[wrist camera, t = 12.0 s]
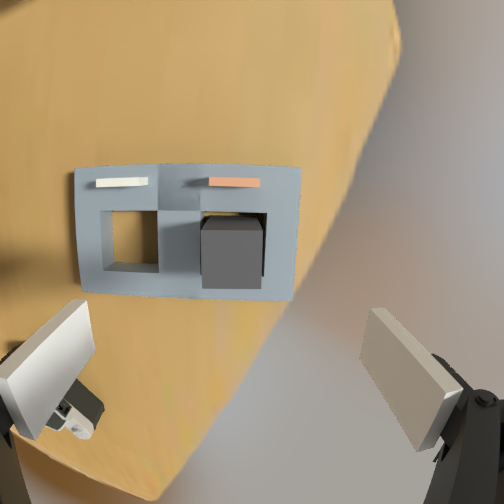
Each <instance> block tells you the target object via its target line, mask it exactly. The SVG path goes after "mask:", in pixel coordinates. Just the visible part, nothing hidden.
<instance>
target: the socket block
mask: <svg viewBox="0 0 504 504" xmlns="http://www.w3.org/2000/svg"><path fill="white" fill-rule="evenodd" d="M74 187H75V222H76V239H77V251H78V262H79V271H80V280H81V288H82V292H91V293H104V294H117V295H132V296H148V297H166V298H187V299H213V300H250V301H292V299H293V288H294V276H295V264H296V251H297V237H298V222H299V205H300V187H301V168H299V167H284V166H266V165H243V164H139V165H116V166H99V167H85V168H75V178H74ZM134 210H148V211H158V257H159V264H147V263H122V262H114V248H113V228H112V211H134ZM204 211H221V212H254V213H264V226H263V247H262V281H261V289H202V269H201V229H202V228H203V226H204Z"/></svg>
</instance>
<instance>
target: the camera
mask: <svg viewBox="0 0 504 504" xmlns="http://www.w3.org/2000/svg"><path fill="white" fill-rule="evenodd" d="M104 410H105V409H104V404H103V403H102V402H101V401H100V400H99V399H98V398H97V397H96V396H95V395H94V394H93V393H91V392H90V391H89V390H88V389H87V388H86V387H85V386H84V385H83V384H82V383H81V382H80V381H79V380H78V379H77V378H76V379H75V381H74V382H73V384H72V385H71V387H70V388H69V390H68V391H67V393H66V394H65V396H64V397H63V399H62V400H61V402H60V403H59V408H58V407H57V408H56V409H55V411H54V412H53V414H52V415H51V417H50V418H49V420H48V421H47V423H46V425H45V426H46V427H48V428H51V429H53V430H55V431H57V432H59V431H60V430H62V429H63V428H64V427H66V428H68V429H69V430H70V431H71V432H72V433H73V434H74V435H75V436H77V438H79V439H85V440H87V439H89V438H90V437H91V436H92V433H93V431H94V430H95V429H96V425H97V423H98V421H99V419H100V417H101V415H102V413H103V412H104Z"/></svg>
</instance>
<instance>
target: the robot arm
mask: <svg viewBox="0 0 504 504" xmlns="http://www.w3.org/2000/svg"><path fill="white" fill-rule="evenodd" d="M95 351H96V349H95V344H94V339H93V334H92V329H91V323H90V318H89V312H88V305H87V300H79V299H73V300H72V301H70V302H69V303H68V304H67V305H66V306H65V307H63V308H62V309H61V310H60V311H59V312H58V313H56V314H55V315H54V316H53V317H52V318H51V319H50V320H48V321H47V322H46V323H45V324H44V325H43V326H42V327H41V328H39V329H38V330H37V331H36V332H35V333H34V334H33V335H32V336H31V337H30V338H28V339H27V340H26V341H25V342H24V343H22V344H20V345H18V346H16V347H14V348H13V349H12V350H11V351H10V352H8V353H7V356H6V355H5V356H4V357H3V358H2V359H1V361H0V504H31V501H30V498H29V495H28V492H27V489H26V485H25V482H24V479H23V475H22V472H21V468H20V464H19V460H18V456H17V452H16V448H15V443H14V438H13V435H12V433H11V431H10V428H11V426H12V425H13V424H14V425H15V427H16V429H17V430H18V432H19V434H20V435H22V436H24V437H27V438H29V439H32V440H35V441H36V439H37V437H38V436H39V434H40V433H41V431H42V429H43V428H44V426H45V425H46V423H47V421H48V420H49V418H50V417H51V415H52V414H53V412H54V411H55V409H56V408H57V406H58V405H59V403H60V402H61V400H62V399H63V397H64V396H65V394H66V393H67V391H68V390H69V388H70V387H71V385H72V384H73V382H74V381H75V379H76V378H77V377H78V375H79V374H80V372H81V371H82V369H83V368H84V367H85V365H86V364H87V362H88V361H89V360H90V358H91V357H92V355H93V354H94V353H95ZM360 360H361V361H362V363H363V365H364V366H365V368H366V369H367V371H368V372H369V374H370V375H371V377H372V379H373V381H374V382H375V384H376V385H377V387H378V389H379V390H380V392H381V394H382V395H383V397H384V399H385V400H386V402H387V403H388V405H389V407H390V408H391V410H392V412H393V413H394V415H395V416H396V418H397V420H398V421H399V423H400V425H401V426H402V428H403V430H404V431H405V433H406V435H407V437H408V438H409V440H410V442H411V443H412V445H413V447H414V449H415V450H416V452H419V451H423V450H426V449H429V448H433V447H434V446H435V444H436V442H437V440H438V439H439V437H440V436H441V437H442V439H443V440H444V444H443V446H442V447H441V449H440V451H439V452H438V454H437V456H436V457H435V459H434V460H433V462H436V460H437V459H438V461H437V464H436V468H435V471H434V474H433V478H432V480H431V484H430V486H429V490H428V492H427V495H426V498H425V500H424V503H423V504H504V400H499V399H498V398H497V397H496V396H495V395H494V394H493V393H491V392H490V391H487V390H482V389H478V390H473V389H472V388H471V387H470V386H469V385H468V384H467V383H466V382H465V381H464V380H463V378H462V377H461V376H460V375H459V374H458V373H456V372H455V370H454V369H453V368H450V365H449V364H448V363H447V362H446V361H445V360H444V359H442V358H441V357H439V356H437V355H435V354H430V353H429V352H428V351H427V350H426V349H425V348H424V347H423V346H422V345H421V344H420V343H419V342H418V341H417V340H416V339H415V338H414V337H413V336H412V335H411V334H410V333H409V332H408V331H407V330H406V329H405V328H404V327H403V326H402V325H401V324H400V323H399V322H398V321H397V320H396V319H395V318H394V317H393V316H392V315H391V314H390V313H389V312H388V311H387V310H386V309H385V308H370V309H369V315H368V320H367V325H366V330H365V335H364V340H363V344H362V349H361V353H360Z"/></svg>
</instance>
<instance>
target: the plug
mask: <svg viewBox="0 0 504 504" xmlns="http://www.w3.org/2000/svg"><path fill="white" fill-rule="evenodd" d="M262 246H263V230H262V228H261V225H260V223H259V221H258V219H257V217H256V216H222V215H211V216H210V217H209V219H208V220H207V222H206V223H205V225H204V226H203V228H202V229H201V269H202V289H261V281H262Z"/></svg>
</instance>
